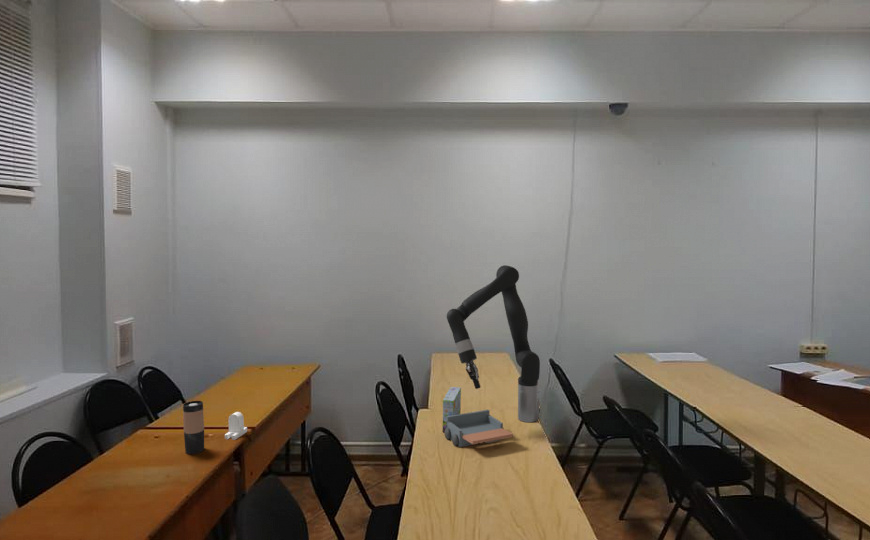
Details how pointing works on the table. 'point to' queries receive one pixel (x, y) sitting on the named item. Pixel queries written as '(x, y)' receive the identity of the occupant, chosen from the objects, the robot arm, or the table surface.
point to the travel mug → (193, 427)
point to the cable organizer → (236, 426)
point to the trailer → (469, 426)
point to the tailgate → (487, 436)
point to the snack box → (451, 404)
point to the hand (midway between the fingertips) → (478, 388)
